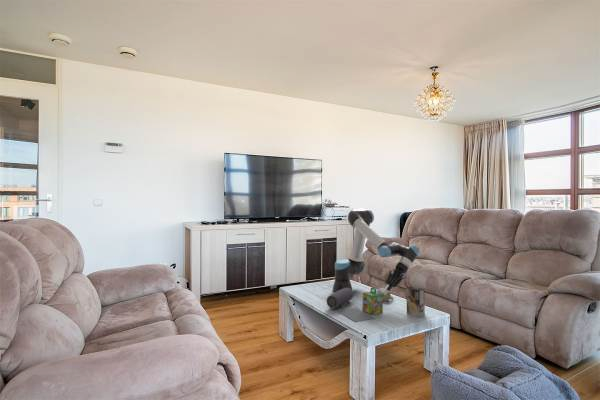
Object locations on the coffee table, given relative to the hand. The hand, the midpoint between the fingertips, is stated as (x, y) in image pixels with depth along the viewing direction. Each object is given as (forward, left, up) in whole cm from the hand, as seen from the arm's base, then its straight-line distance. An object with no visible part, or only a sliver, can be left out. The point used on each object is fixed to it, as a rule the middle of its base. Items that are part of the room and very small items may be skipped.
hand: (383, 293), depth 205 cm
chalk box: (0, -9, -10) cm, 14 cm away
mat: (0, -22, -10) cm, 24 cm away
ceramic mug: (-16, +15, -10) cm, 24 cm away
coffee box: (+16, +11, -10) cm, 22 cm away
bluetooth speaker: (-19, -21, -10) cm, 30 cm away
